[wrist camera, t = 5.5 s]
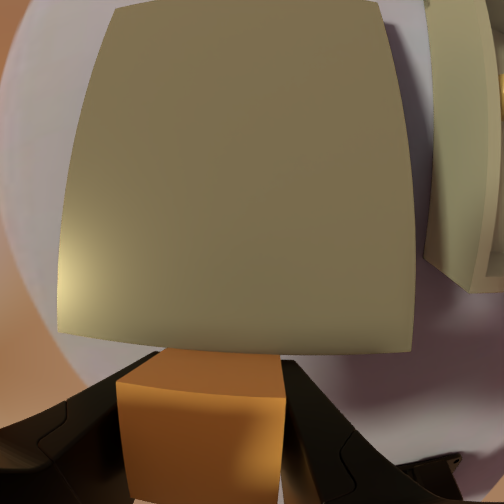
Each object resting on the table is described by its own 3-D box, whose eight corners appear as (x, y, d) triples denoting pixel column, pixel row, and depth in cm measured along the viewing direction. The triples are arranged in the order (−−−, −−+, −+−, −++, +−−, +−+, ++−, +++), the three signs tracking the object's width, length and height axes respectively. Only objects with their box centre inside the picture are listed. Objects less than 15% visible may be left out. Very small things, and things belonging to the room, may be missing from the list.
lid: (380, 417, 10) (442, 494, 5) (89, 398, 10) (5, 450, 5) (367, 28, 11) (397, -55, 6) (128, 32, 11) (86, -42, 6)
